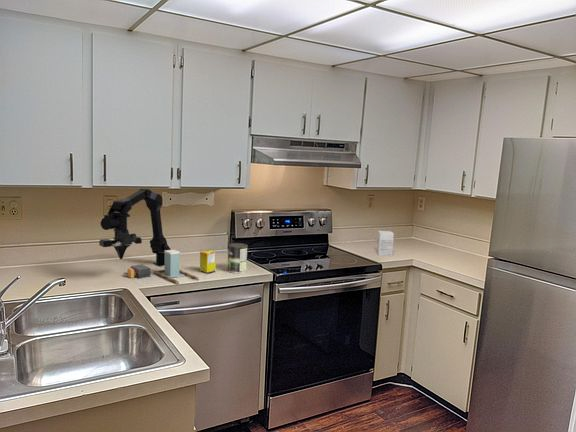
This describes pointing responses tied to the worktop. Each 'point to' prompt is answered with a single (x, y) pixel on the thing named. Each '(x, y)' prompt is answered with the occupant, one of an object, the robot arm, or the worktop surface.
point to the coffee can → (237, 257)
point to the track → (170, 278)
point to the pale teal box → (172, 262)
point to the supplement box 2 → (385, 243)
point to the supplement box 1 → (207, 261)
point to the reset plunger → (131, 272)
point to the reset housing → (141, 271)
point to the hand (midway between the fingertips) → (120, 259)
